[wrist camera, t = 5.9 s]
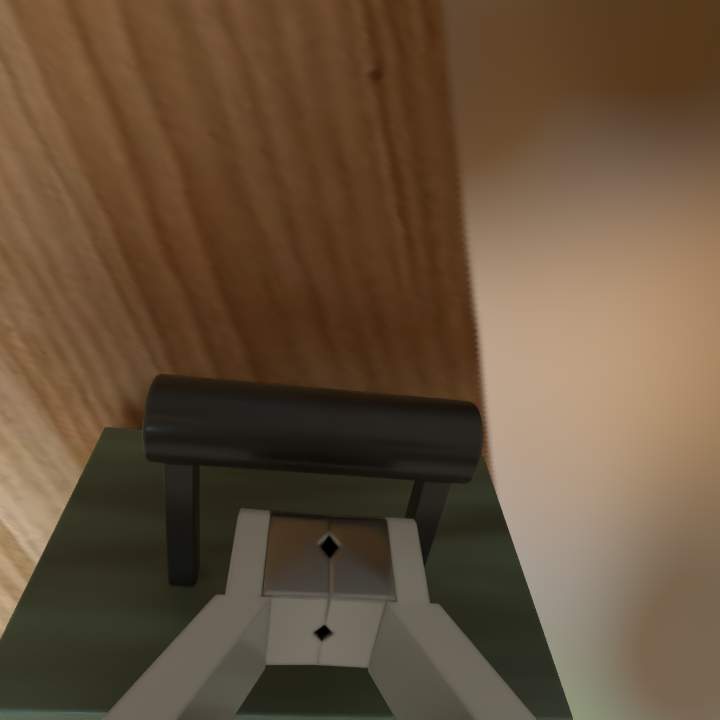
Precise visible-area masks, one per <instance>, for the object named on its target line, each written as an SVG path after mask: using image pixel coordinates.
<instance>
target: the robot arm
mask: <svg viewBox="0 0 720 720" xmlns="http://www.w3.org/2000/svg"><path fill="white" fill-rule="evenodd" d="M269 524H270V525H269ZM265 665H326V666H344V667H362V668H368V672H369V674H370V675H371V677H372V679H373V680H374V682H375V684H376V686H377V687H378V689H379V691H380V693H381V694H382V696H383V698H384V699H385V701H386V703H387V705H388V706H389V708H390V710H391V712H392V713H393V715H394V717H395V718H396V720H537V719H536V718H535V717H534V716H533V715H532V713H531V712H530V711H529V710H528V709H527V707H526V706H525V705H524V704H523V703H522V702H521V700H520V699H519V698H518V697H517V696H516V694H515V693H514V692H513V691H512V690H511V689H510V687H509V686H508V685H507V684H506V683H505V681H504V680H503V679H502V678H501V677H500V676H499V674H498V673H497V672H496V671H495V670H494V668H493V667H492V666H491V665H490V664H489V663H488V661H487V660H486V659H485V658H484V657H483V655H482V654H481V653H480V652H479V651H478V649H477V648H476V647H475V646H474V645H473V644H472V642H471V641H470V640H469V639H468V638H467V636H466V635H465V634H464V633H463V632H462V631H461V629H460V628H459V627H458V626H457V625H456V623H455V622H454V621H453V620H452V619H451V618H450V616H449V615H448V614H447V613H446V612H445V610H444V609H443V608H442V607H441V606H440V605H439V604H434V603H430V599H429V593H428V587H427V582H426V576H425V570H424V564H423V558H422V553H421V547H420V541H419V535H418V529H417V524H416V522H415V521H414V519H406V518H388V517H385V518H384V517H376V516H355V515H334V514H328V515H321V514H309V513H297V512H286V511H274V510H271V516H270V510H257V509H244V508H241V509H240V512H239V515H238V519H237V525H236V531H235V537H234V543H233V549H232V555H231V562H230V568H229V574H228V580H227V586H226V592H225V595H215V596H214V597H213V598H212V599H211V600H210V601H209V602H208V604H207V605H206V606H205V607H204V608H203V609H202V610H201V611H200V612H199V613H198V614H197V616H196V617H195V618H194V619H193V620H192V621H191V622H190V623H189V624H188V625H187V626H186V628H185V629H184V630H183V631H182V632H181V633H180V634H179V635H178V636H177V637H176V639H175V640H174V641H173V642H172V643H171V644H170V645H169V646H168V647H167V648H166V649H165V651H164V652H163V653H162V654H161V655H160V656H159V657H158V658H157V659H156V660H155V661H154V663H153V664H152V665H151V666H150V667H149V668H148V669H147V670H146V671H145V672H144V673H143V675H142V676H141V677H140V678H139V679H138V680H137V681H136V682H135V683H134V684H133V686H132V687H131V688H130V689H129V690H128V691H127V692H126V693H125V694H124V695H123V696H122V698H121V699H120V700H119V701H118V702H117V703H116V704H115V705H114V706H113V707H112V708H111V710H110V711H109V712H108V713H107V714H106V715H105V716H104V717H103V718H102V720H232V718H233V717H234V715H235V714H236V712H237V711H238V709H239V708H240V706H241V705H242V703H243V702H244V700H245V699H246V697H247V695H248V694H249V692H250V691H251V689H252V688H253V686H254V685H255V683H256V682H257V680H258V679H259V677H260V676H261V674H262V673H263V671H264V670H265Z"/></svg>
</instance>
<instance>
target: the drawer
mask: <svg viewBox="0 0 720 720" xmlns="http://www.w3.org/2000/svg"><path fill="white" fill-rule="evenodd" d="M482 444H483V432H482V422H481V417H480V413H479V410H478V408H477V406H476V405H475V404H474V403H472V402H470V401H461V400H450V399H439V398H427V397H416V396H405V395H394V394H382V393H371V392H360V391H349V390H337V389H326V388H315V387H303V386H292V385H281V384H270V383H258V382H247V381H236V380H225V379H213V378H202V377H191V376H180V375H168V374H160V375H157V376H156V377H155V378H154V380H153V382H152V384H151V386H150V389H149V392H148V395H147V399H146V404H145V409H144V416H143V425H142V430H139V429H126V428H113V427H105V428H104V430H103V432H102V434H101V436H100V438H99V440H98V442H97V444H96V446H95V448H94V450H93V452H92V454H91V456H90V459H89V461H88V463H87V465H86V467H85V469H84V471H83V473H82V475H81V477H80V479H79V481H78V483H77V485H76V487H75V489H74V491H73V493H72V495H71V497H70V499H69V501H68V503H67V505H66V507H65V509H64V511H63V513H62V515H61V517H60V519H59V521H58V523H57V525H56V527H55V529H54V531H53V533H52V536H51V538H50V540H49V542H48V544H47V546H46V548H45V550H44V552H43V554H42V556H41V558H40V560H39V562H38V564H37V566H36V568H35V570H34V572H33V574H32V576H31V578H30V580H29V582H28V584H27V586H26V588H25V590H24V592H23V594H22V596H21V598H20V600H19V602H18V604H17V606H16V608H15V610H14V613H13V615H12V617H11V619H10V621H9V623H8V625H7V627H6V629H5V631H4V633H3V635H2V637H1V639H0V720H102V718H103V717H104V716H105V715H106V714H107V713H108V712H109V711H110V710H111V708H112V707H113V706H114V705H115V704H116V703H117V702H118V701H119V700H120V699H121V698H122V696H123V695H124V694H125V693H126V692H127V691H128V690H129V689H130V688H131V687H132V686H133V684H134V683H135V682H136V681H137V680H138V679H139V678H140V677H141V676H142V675H143V673H144V672H145V671H146V670H147V669H148V668H149V667H150V666H151V665H152V664H153V663H154V661H155V660H156V659H157V658H158V657H159V656H160V655H161V654H162V653H163V652H164V651H165V649H166V648H167V647H168V646H169V645H170V644H171V643H172V642H173V641H174V640H175V639H176V637H177V636H178V635H179V634H180V633H181V632H182V631H183V630H184V629H185V628H186V626H187V625H188V624H189V623H190V622H191V621H192V620H193V619H194V618H195V617H196V616H197V614H198V613H199V612H200V611H201V610H202V609H203V608H204V607H205V606H206V605H207V604H208V602H209V601H210V600H211V599H212V598H213V597H214V596H215V595H225V592H226V586H227V580H228V574H229V568H230V562H231V555H232V549H233V543H234V537H235V531H236V525H237V519H238V515H239V512H240V509H241V508H244V509H257V510H270V516H271V510H274V511H286V512H297V513H309V514H321V515H328V514H334V515H355V516H376V517H384V518H385V517H388V518H406V519H414V521H415V522H416V524H417V529H418V535H419V541H420V547H421V553H422V558H423V564H424V570H425V576H426V582H427V587H428V593H429V599H430V603H434V604H439V605H440V606H441V607H442V608H443V609H444V610H445V612H446V613H447V614H448V615H449V616H450V618H451V619H452V620H453V621H454V622H455V623H456V625H457V626H458V627H459V628H460V629H461V631H462V632H463V633H464V634H465V635H466V636H467V638H468V639H469V640H470V641H471V642H472V644H473V645H474V646H475V647H476V648H477V649H478V651H479V652H480V653H481V654H482V655H483V657H484V658H485V659H486V660H487V661H488V663H489V664H490V665H491V666H492V667H493V668H494V670H495V671H496V672H497V673H498V674H499V676H500V677H501V678H502V679H503V680H504V681H505V683H506V684H507V685H508V686H509V687H510V689H511V690H512V691H513V692H514V693H515V694H516V696H517V697H518V698H519V699H520V700H521V702H522V703H523V704H524V705H525V706H526V707H527V709H528V710H529V711H530V712H531V713H532V715H533V716H534V717H535V718H536V719H537V720H573V717H572V714H571V711H570V708H569V705H568V702H567V699H566V697H565V693H564V691H563V688H562V685H561V682H560V679H559V676H558V673H557V670H556V667H555V664H554V661H553V659H552V655H551V653H550V650H549V647H548V644H547V641H546V638H545V635H544V632H543V629H542V626H541V623H540V620H539V617H538V615H537V612H536V609H535V606H534V603H533V600H532V597H531V594H530V591H529V588H528V585H527V582H526V579H525V577H524V574H523V571H522V568H521V565H520V562H519V559H518V556H517V553H516V550H515V548H514V544H513V542H512V539H511V536H510V533H509V530H508V527H507V524H506V521H505V519H504V515H503V512H502V509H501V506H500V503H499V501H498V498H497V495H496V492H495V489H494V486H493V483H492V480H491V477H490V474H489V471H488V468H487V465H486V463H485V460H484V457H483V456H481V454H482ZM269 525H270V524H269ZM232 720H396V718H395V717H394V715H393V713H392V712H391V710H390V708H389V706H388V705H387V703H386V701H385V699H384V698H383V696H382V694H381V693H380V691H379V689H378V687H377V686H376V684H375V682H374V680H373V679H372V677H371V675H370V674H369V672H368V668H362V667H344V666H326V665H265V670H264V671H263V673H262V674H261V676H260V677H259V679H258V680H257V682H256V683H255V685H254V686H253V688H252V689H251V691H250V692H249V694H248V695H247V697H246V699H245V700H244V702H243V703H242V705H241V706H240V708H239V709H238V711H237V712H236V714H235V715H234V717H233V718H232Z"/></svg>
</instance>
